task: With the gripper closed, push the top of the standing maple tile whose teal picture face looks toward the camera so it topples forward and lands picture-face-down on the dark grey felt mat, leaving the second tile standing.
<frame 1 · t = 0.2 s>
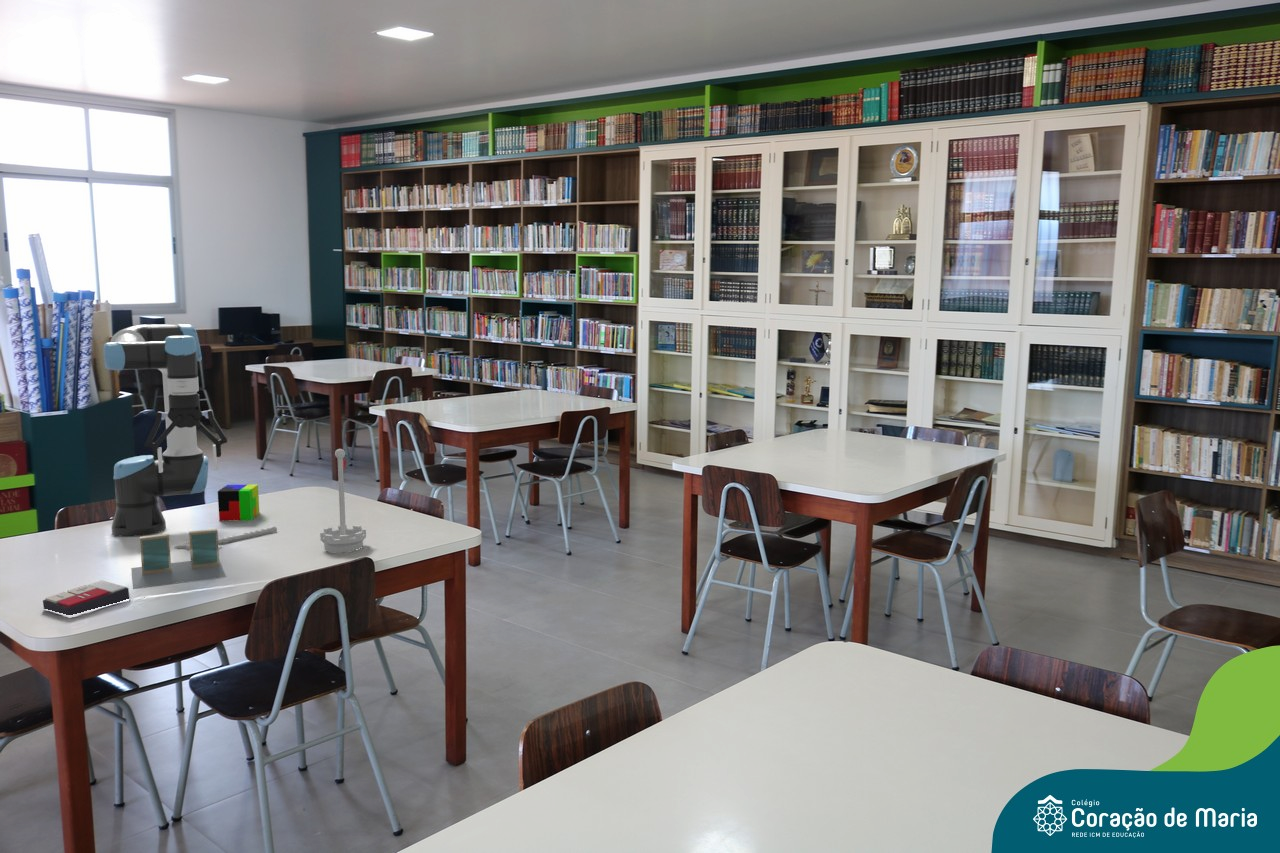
hand: (188, 470, 259), 27 cm above the table, fingers open, 13 cm apart
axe: (231, 543, 288), on the table
calculator: (87, 607, 232), on the table
flag stand: (343, 548, 283), on the table
mat: (178, 574, 256), on the table
puzzle toy: (239, 517, 318), on the table
tile 2: (205, 565, 262), resting on mat
tile: (156, 571, 256), resting on mat
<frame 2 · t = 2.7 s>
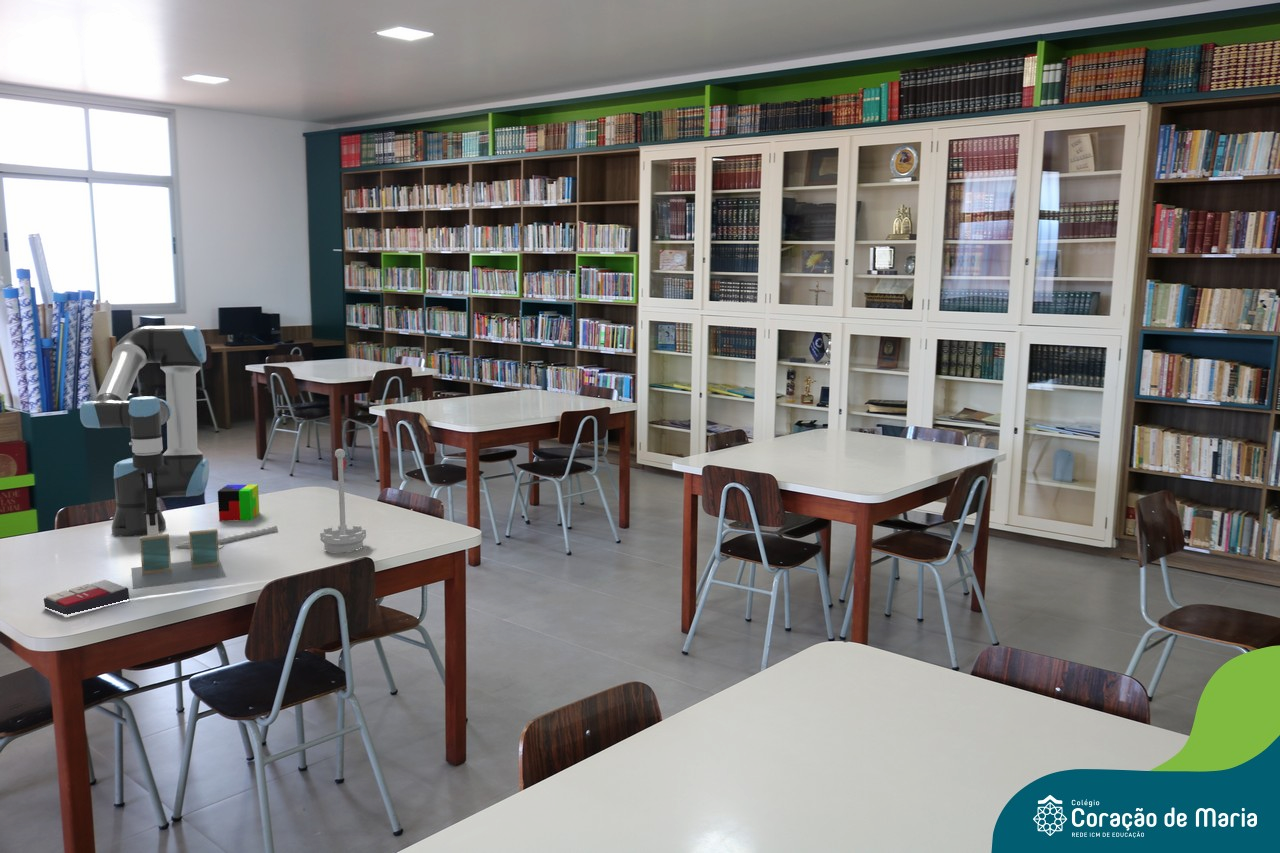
hand: (153, 535, 265), 8 cm above the table, fingers closed
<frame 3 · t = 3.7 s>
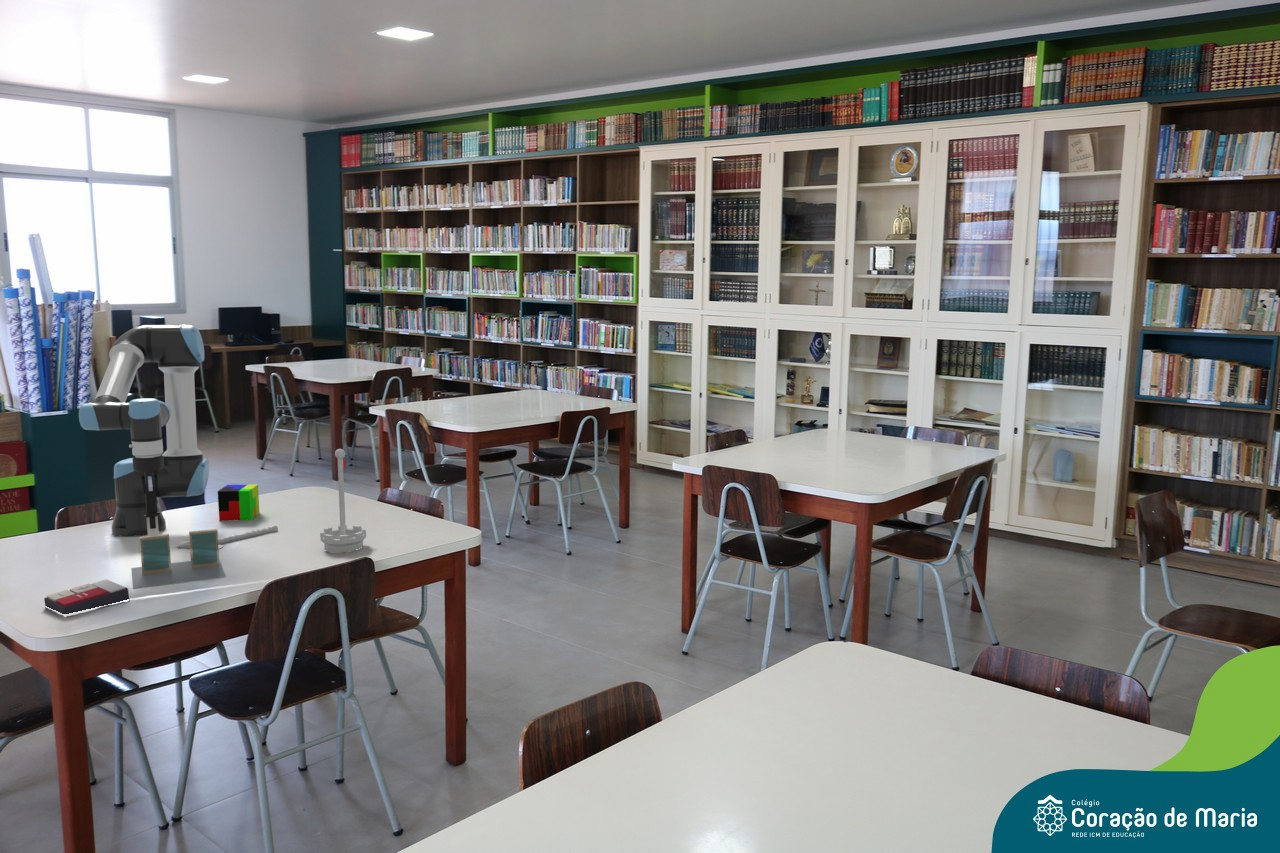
hand: (153, 538, 263), 8 cm above the table, fingers closed
nothing on the table moved.
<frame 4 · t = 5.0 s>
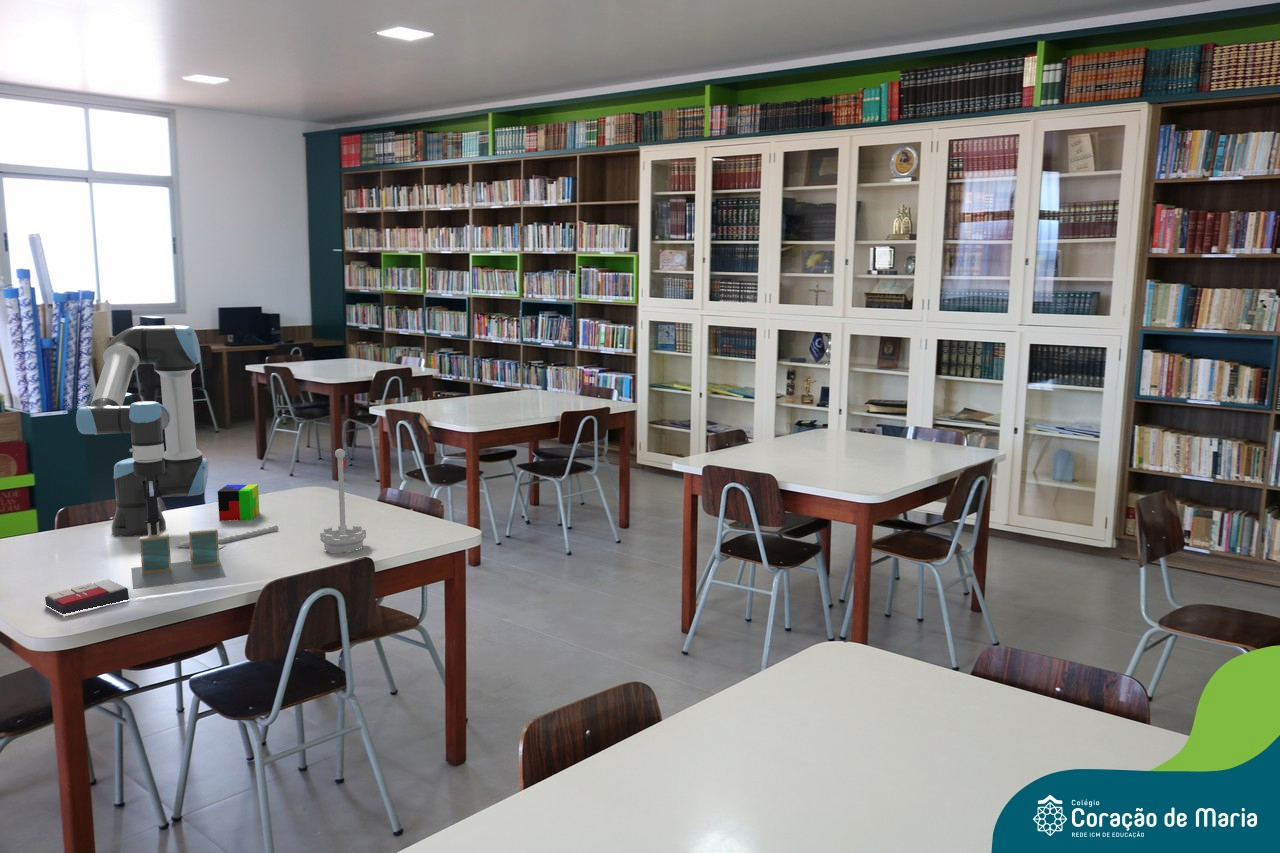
hand: (154, 545, 256), 8 cm above the table, fingers closed
tile: (156, 571, 256), point 1 cm above the table, touching gripper, mat
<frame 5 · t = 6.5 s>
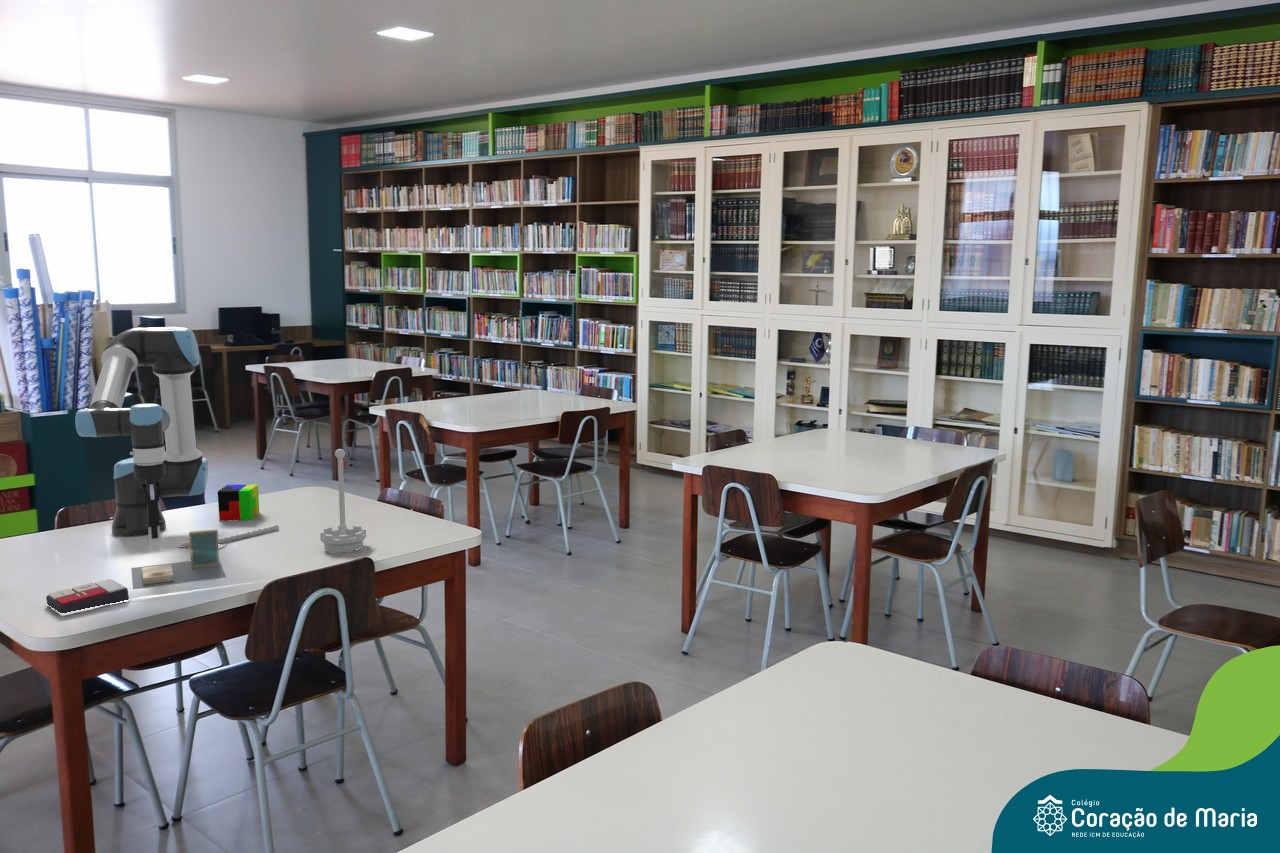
hand: (155, 549, 254), 7 cm above the table, fingers closed
tile: (156, 569, 255), point 2 cm above the table, tilted 90°, touching mat
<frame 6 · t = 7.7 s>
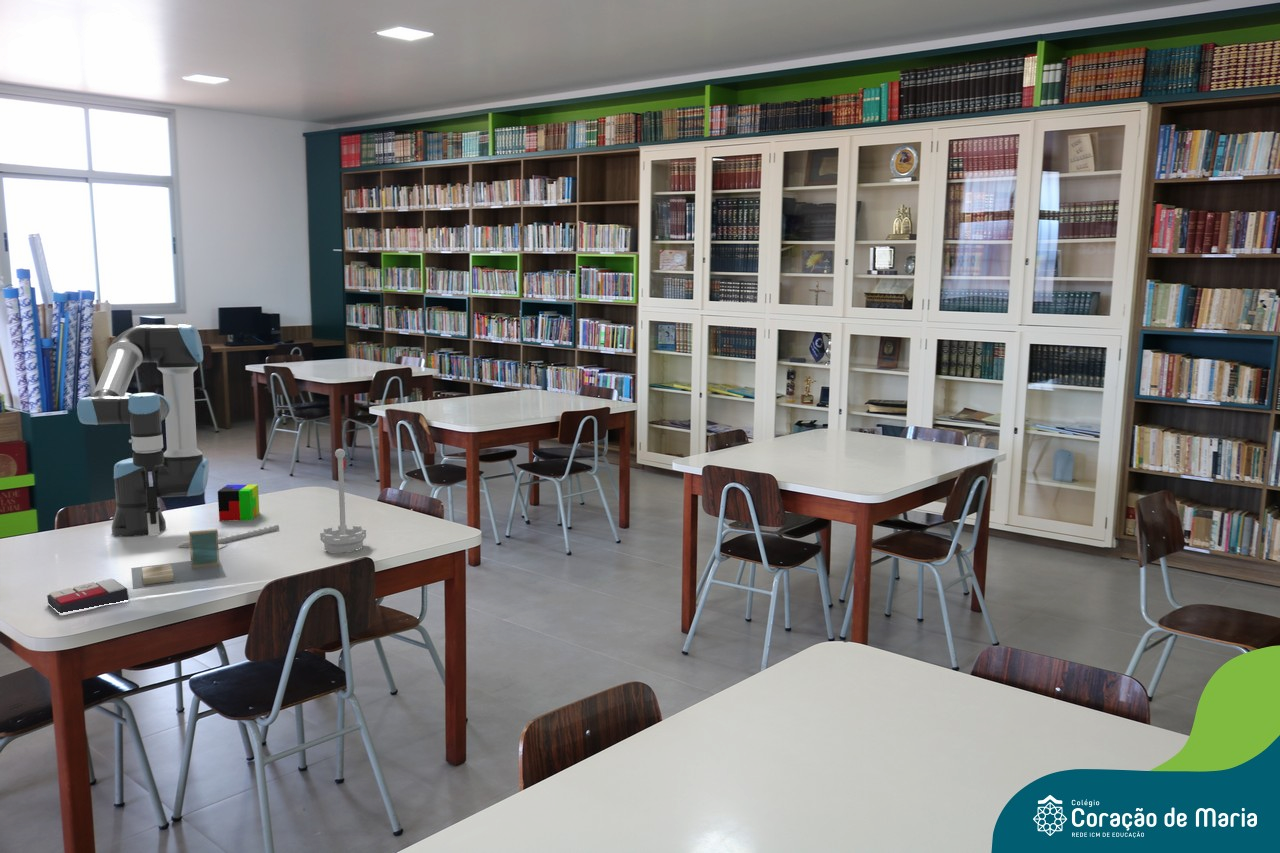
hand: (154, 534, 261), 9 cm above the table, fingers closed
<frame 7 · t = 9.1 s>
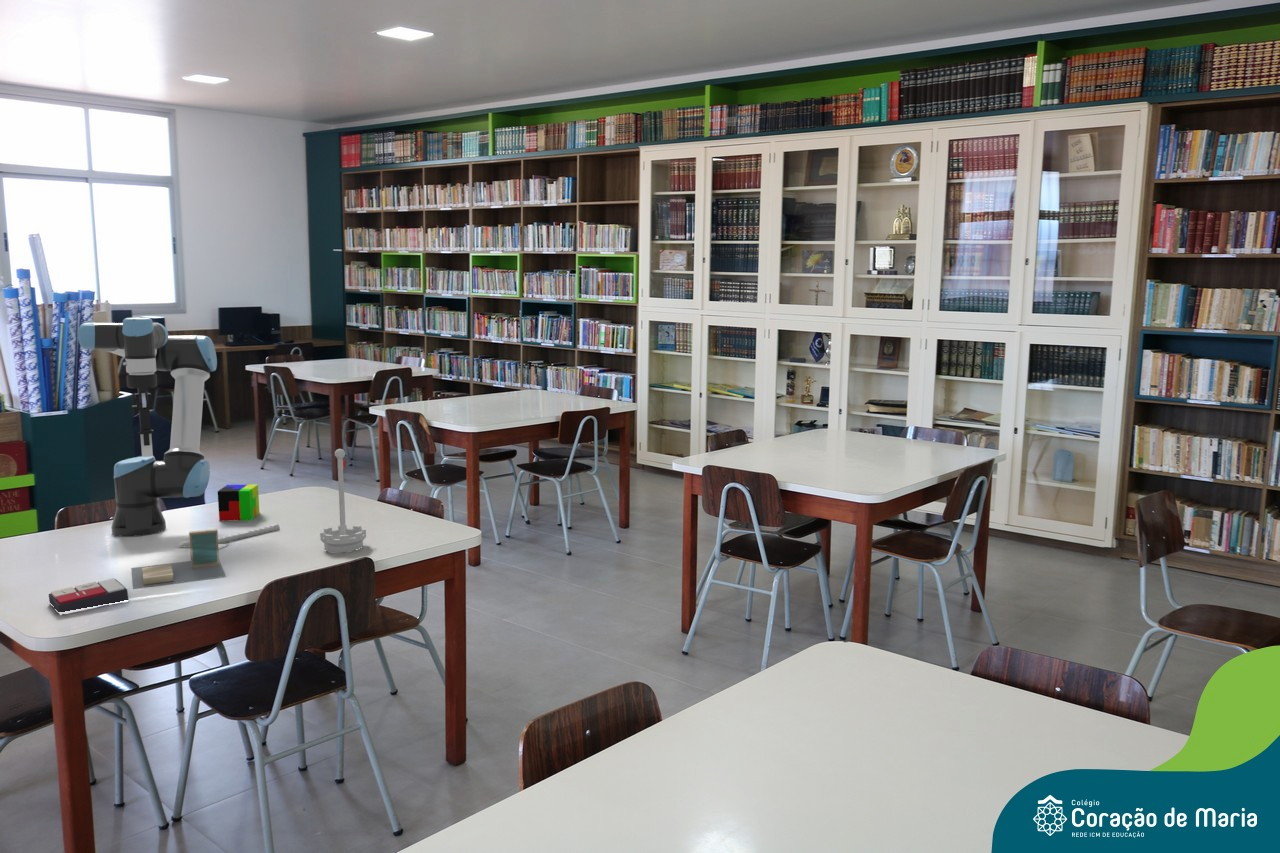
hand: (147, 456, 268), 29 cm above the table, fingers closed
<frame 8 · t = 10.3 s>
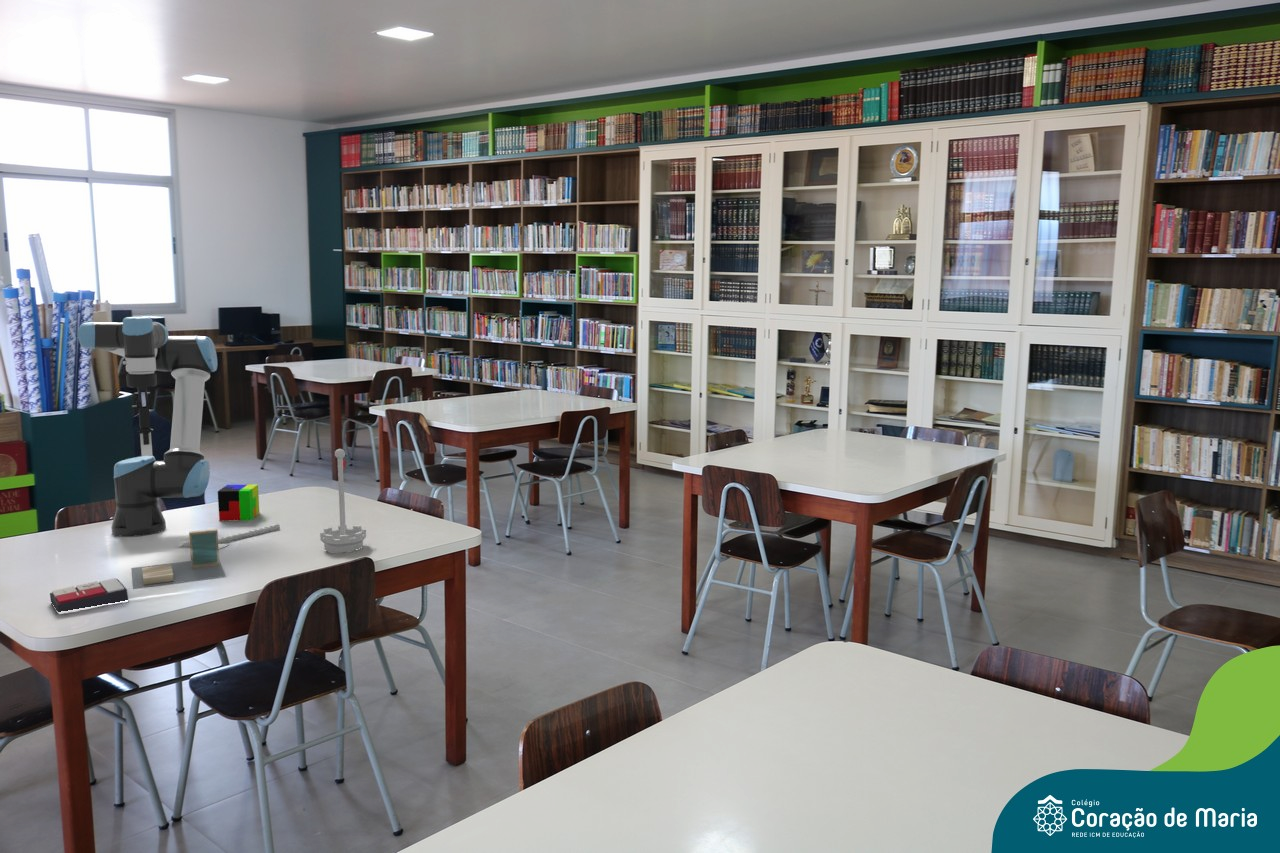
hand: (147, 455, 268), 29 cm above the table, fingers closed
at the end: tile tilted 90°; tile inside the target area on the mat (3.4 cm from its centre), point 1.5 cm above the mat's base; tile 2 tilted 0° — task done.
